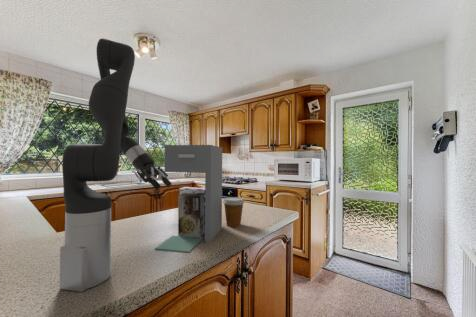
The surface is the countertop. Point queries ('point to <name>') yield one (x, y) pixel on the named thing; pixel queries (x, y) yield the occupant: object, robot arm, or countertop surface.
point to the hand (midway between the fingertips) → (164, 186)
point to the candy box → (193, 190)
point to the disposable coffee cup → (233, 211)
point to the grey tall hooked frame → (210, 164)
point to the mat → (179, 244)
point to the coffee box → (191, 214)
